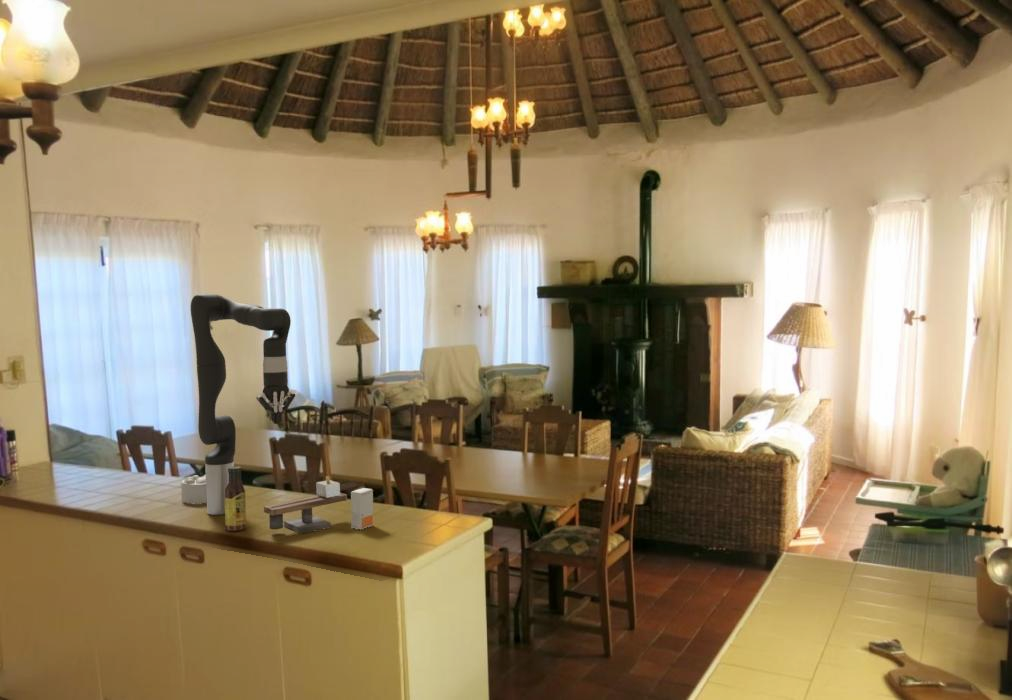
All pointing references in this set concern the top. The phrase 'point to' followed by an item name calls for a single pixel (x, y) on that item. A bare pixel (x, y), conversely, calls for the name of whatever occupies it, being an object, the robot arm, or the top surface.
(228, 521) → the sauce bottle
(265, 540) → the top surface
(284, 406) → the robot arm
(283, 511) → the balance beam
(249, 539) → the top surface
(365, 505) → the skincare box
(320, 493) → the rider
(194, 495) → the lumpy-topped squat cylinder
